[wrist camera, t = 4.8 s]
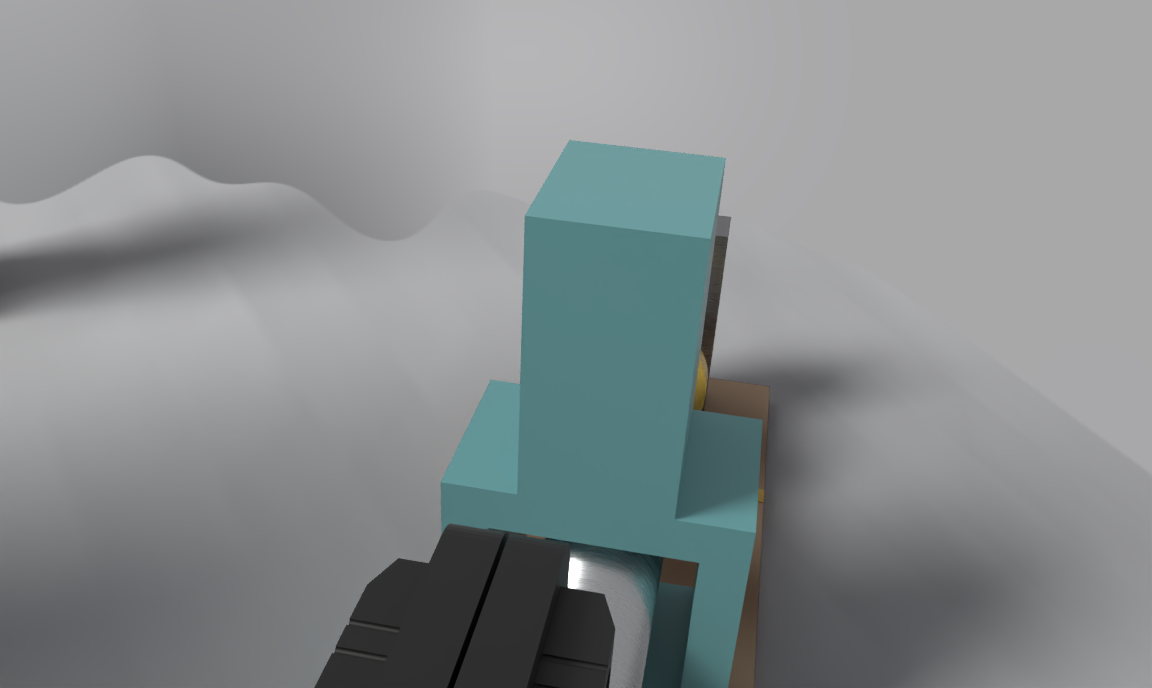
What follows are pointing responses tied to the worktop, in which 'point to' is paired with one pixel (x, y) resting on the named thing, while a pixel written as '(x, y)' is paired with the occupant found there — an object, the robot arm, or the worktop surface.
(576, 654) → the robot arm
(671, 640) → the sleeve
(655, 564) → the pipe
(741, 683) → the board
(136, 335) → the worktop surface
